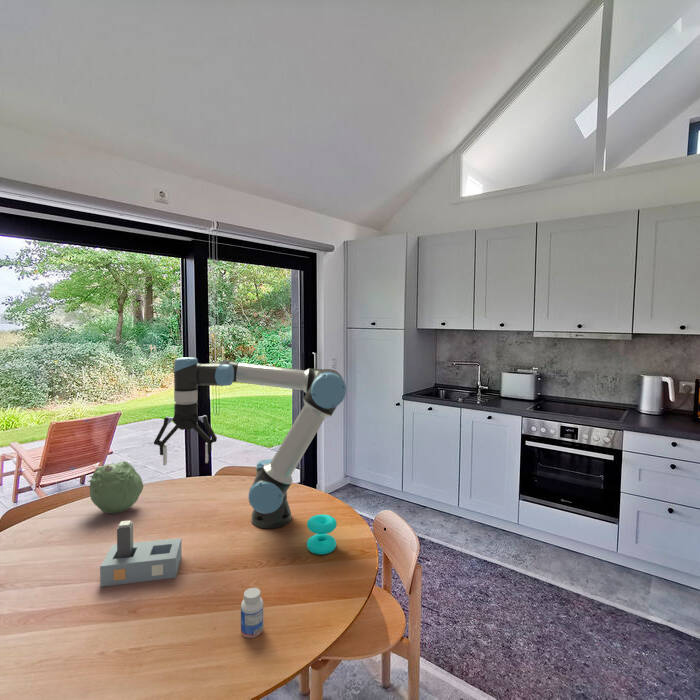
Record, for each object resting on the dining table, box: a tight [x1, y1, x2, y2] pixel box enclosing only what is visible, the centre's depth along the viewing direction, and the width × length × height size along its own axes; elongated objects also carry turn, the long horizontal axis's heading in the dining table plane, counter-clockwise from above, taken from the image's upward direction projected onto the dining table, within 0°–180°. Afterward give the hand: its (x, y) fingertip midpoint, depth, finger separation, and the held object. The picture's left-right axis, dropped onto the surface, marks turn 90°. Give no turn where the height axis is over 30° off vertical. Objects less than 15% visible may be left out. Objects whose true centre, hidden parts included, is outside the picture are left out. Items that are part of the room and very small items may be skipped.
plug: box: [116, 520, 134, 559], centre depth 126 cm, size 4×4×14 cm
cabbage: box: [87, 461, 144, 515], centre depth 166 cm, size 16×19×20 cm
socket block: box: [99, 537, 183, 588], centre depth 127 cm, size 20×12×6 cm, turn 104°
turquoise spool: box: [306, 513, 338, 555], centre depth 142 cm, size 10×10×10 cm
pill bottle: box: [240, 587, 264, 639], centre depth 103 cm, size 6×5×10 cm
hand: (186, 463), depth 146 cm, fingers open, 13 cm apart
